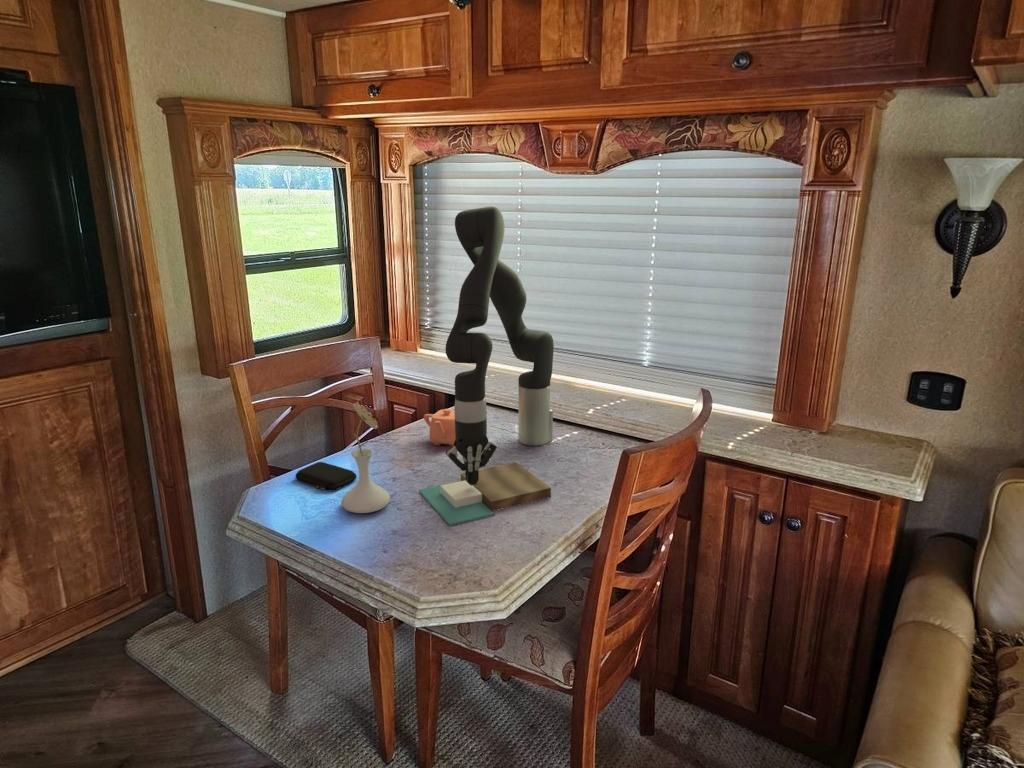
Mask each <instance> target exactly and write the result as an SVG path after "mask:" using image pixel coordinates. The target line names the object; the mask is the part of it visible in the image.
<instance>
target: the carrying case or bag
mask: <svg viewBox="0 0 1024 768" xmlns="http://www.w3.org/2000/svg"><path fill="white" fill-rule="evenodd" d="M294 476H295V477H294V478H295V479H296V481H298V482H300V483H303V484H305V485H309V486H313V487H315V488H316V490H323V491H329V492H335V491H338V490H341V488H345V486H349V485H350V484H352V483H353V482H355V480H356V479H357V473H355V472H354V471H353V470H351V469H349V468H344V467H340V466H337V465H335V464H330V463H328V462H323V461H318V462H316V463H313V464H311V465H307V467H304V468H301V469H299V470H298V471H297V472H296V473H295V475H294Z"/></svg>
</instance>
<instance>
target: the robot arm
mask: <svg viewBox="0 0 1024 768" xmlns="http://www.w3.org/2000/svg"><path fill="white" fill-rule="evenodd" d="M454 227H455V232H456V236H457V238H458V241H459V242H460V244H461V246H462V248H463V250H464V251H465V253H466V255H467V256H468V258H469V259H470V261H471V263H472V264H473V267H472V268H471V270H470V272H469V273H468V274H467V276H466V278H465V279H464V281H463V283H462V284H461V288H460V291H459V297H458V298H459V299H458V306H457V307H458V308H457V314H456V317H455V320H454V323H453V326H452V328H451V330H450V332H449V335H448V336H447V340H446V343H445V355H446V357H447V359H448V361H450V362H452V363H453V364H454V363H455V364H474V365H475V368H474V369H472V370H467V371H461V372H459V373H457V374H455V377H454V405H453V406H454V409H453V410H454V412H455V437H456V439H455V442H454V447H451V449H449V450H447V449H446V451H445V455H446V456H447V457H448V458H449V459H450V460H451V461H452V463H454V465H455V466H456V467H458V469H460V470H461V471H462V472H464V473H465V476H466V482H467V483H468V484H470V485H476V484H477V482H478V480H479V472H478V470H480V469H481V468H484V467H486V465H488V464H487V463H488V462H489V461H490V459H491V458H492V456H493V455H494V453H495V451H496V450H497V447H498V446H497V445H496V444H494V442H492V441H489V438H488V436H487V433H488V431H487V429H488V427H487V426H488V422H487V420H488V419H487V418H488V417H487V416H488V412H487V401H486V376H487V370H488V366H489V363H490V359H491V357H492V352H493V341H492V339H491V337H490V336H489V334H486V333H483V332H468V331H470V330H471V329H475V328H476V329H477V328H479V327H483V326H485V325H486V324H487V322H488V316H489V308H490V307H489V305H490V300H491V302H492V305H493V307H494V308H495V310H496V313H497V315H498V316H499V319H500V322H501V323H502V325H503V328H504V331H505V334H506V337H507V340H508V343H509V345H510V349H511V350H512V353H513V355H514V356H515V357H516V359H518V360H519V361H523V362H528V363H533V366H532V370H530V371H526V372H523V373H520V374H519V376H518V381H517V382H518V390H517V391H518V442H519V443H520V444H523V445H526V446H534V447H535V446H537V447H538V446H543V445H546V444H548V443H549V442H553V427H554V426H553V420H554V418H553V416H554V414H553V413H554V411H553V409H552V408H551V381H552V374H553V365H554V364H553V363H554V351H555V349H554V346H555V345H554V339H553V336H552V334H551V333H550V332H548V331H543V330H536V329H530V328H528V327H527V326H526V325H525V322H524V320H523V317H522V316H523V314H524V310H525V308H526V304H527V293H526V290H525V287H524V285H523V283H522V280H521V279H520V277H519V274H518V273H517V272H516V271H515V270H514V269H513V268H512V267H510V266H509V265H508V264H506V263H505V262H503V261H502V260H500V259H499V257H500V255H501V250H502V246H503V242H504V238H505V229H506V227H505V219H504V217H503V214H502V212H501V210H500V209H499V208H498V207H497V206H490V205H489V206H483V207H478V208H469V209H466V210H463V211H459V212H458V213H457V214H456V216H455V218H454ZM459 455H461V456H462V457H461V458H462V460H463V462H462V461H461V460H460V459H459V458H458V457H459Z"/></svg>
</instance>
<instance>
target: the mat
mask: <svg viewBox="0 0 1024 768" xmlns="http://www.w3.org/2000/svg"><path fill="white" fill-rule="evenodd" d="M460 481H461V480H459V481H457V482H460ZM455 482H456V481H454V482H452V483H455ZM450 483H451V482H448V484H450ZM446 484H447V483H445V484H443V485H446ZM441 485H442V484H440V485H439V484H438V485H435V486H431V487H426V488H421V489H418V493H420V495H421V494H422V495H421V496H422V497H423V498H424V500H426V501H427V502H428V503H429V504H430V506H431V507H432V508H433V509H434V510H435V511H436V512H437V514H438V515H439V516H440V517H441V518H442V519H443V521H445V523H446V524H448V525H449V527H451V526H455V525H456V524H457V525H461V524H464V522H465V523H469V522H472V520H473V521H476V520H475V519H477V520H480V519H479V518H481V519H485V518H488V517H487V516H489V517H492V516H491V515H493V516H495V513H494V511H491V510H490V509H489V508H488V507H487V506H486V505H485V504H484V503H483V502H478V503H474V504H470V505H465V506H461V507H457V508H455V507H454V506H453V505H452V504H451V503H450V502H449V501H448V500H447V499H446V498H445V497H444V496H443V495H442V494H441ZM484 517H485V518H484ZM468 521H469V522H468Z"/></svg>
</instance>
